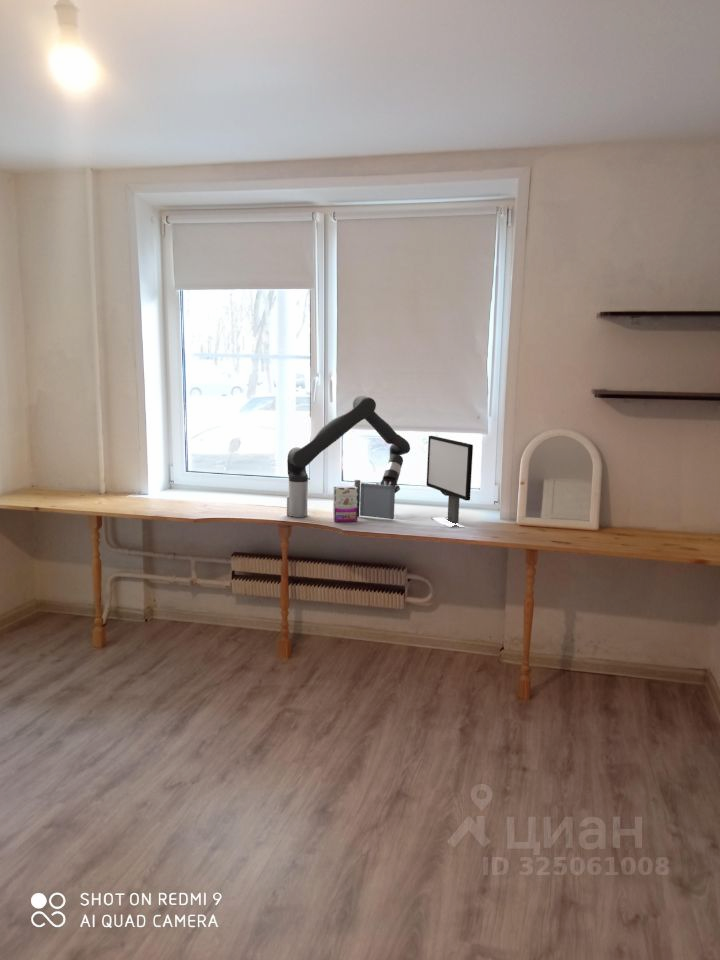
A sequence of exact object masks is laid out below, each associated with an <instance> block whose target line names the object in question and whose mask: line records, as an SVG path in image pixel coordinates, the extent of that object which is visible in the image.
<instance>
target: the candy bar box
mask: <svg viewBox="0 0 720 960" xmlns="http://www.w3.org/2000/svg"><path fill="white" fill-rule="evenodd" d="M332 507H333V508H332V509H333V510H332V511H333V515H332V516H333V517H332V520H333V521H334V523H348V522H349V523H352V522H353V523H355V522H358V517H357V508H358V488H357V487H356V486H355V487H354V486H333V506H332Z"/></svg>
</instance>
